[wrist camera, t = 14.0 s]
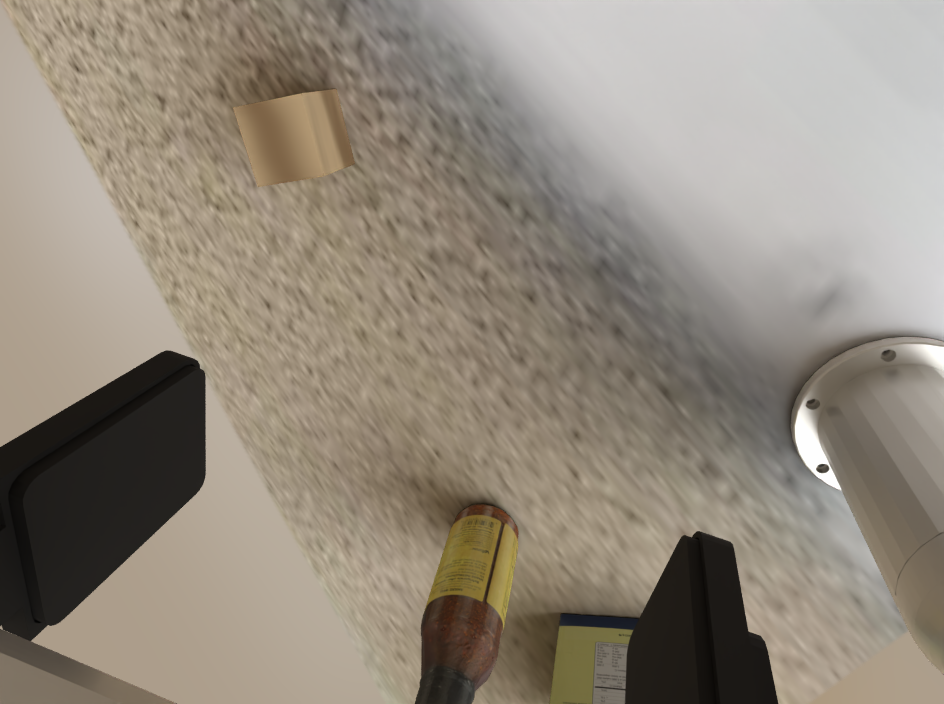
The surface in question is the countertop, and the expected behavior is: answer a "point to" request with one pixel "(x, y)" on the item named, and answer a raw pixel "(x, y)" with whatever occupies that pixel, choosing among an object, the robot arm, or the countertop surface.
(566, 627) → the protein box
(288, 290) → the countertop surface
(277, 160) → the oak block
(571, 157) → the countertop surface
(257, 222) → the countertop surface
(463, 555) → the sauce bottle
